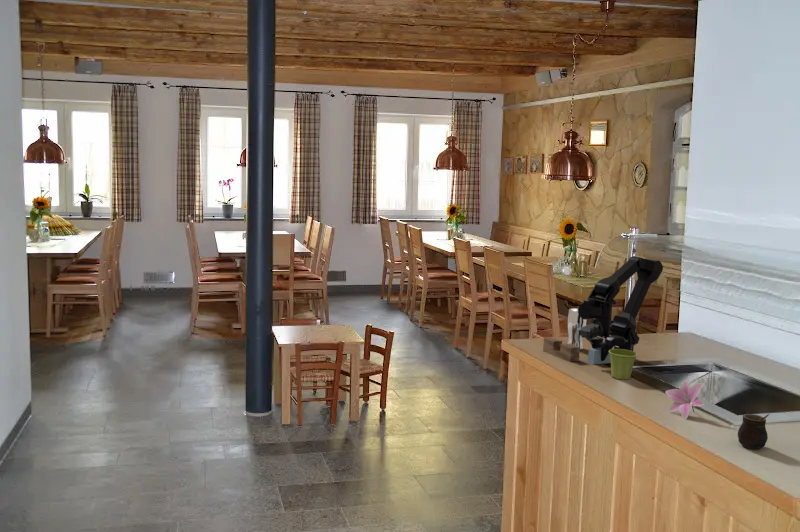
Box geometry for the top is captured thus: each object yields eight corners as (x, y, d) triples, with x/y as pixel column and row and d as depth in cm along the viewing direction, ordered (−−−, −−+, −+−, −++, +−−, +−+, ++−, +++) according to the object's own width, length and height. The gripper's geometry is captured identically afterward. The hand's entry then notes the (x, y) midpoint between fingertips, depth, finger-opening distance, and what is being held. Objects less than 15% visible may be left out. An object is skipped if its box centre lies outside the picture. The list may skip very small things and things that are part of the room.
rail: (551, 350, 305) (552, 337, 304) (578, 360, 291) (579, 347, 290) (542, 350, 303) (543, 337, 302) (569, 361, 289) (571, 348, 288)
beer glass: (587, 349, 308) (590, 311, 306) (572, 350, 305) (575, 311, 303) (577, 345, 314) (580, 307, 312) (562, 346, 311) (565, 308, 309)
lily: (662, 408, 243) (656, 384, 238) (700, 395, 242) (695, 370, 238) (679, 433, 232) (673, 408, 228) (718, 420, 231) (713, 394, 227)
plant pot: (635, 375, 274) (637, 350, 273) (635, 382, 265) (637, 357, 264) (606, 372, 277) (609, 347, 276) (606, 379, 268) (608, 353, 267)
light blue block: (605, 360, 293) (606, 347, 292) (610, 362, 290) (611, 349, 289) (587, 362, 289) (588, 348, 288) (593, 364, 287) (594, 350, 286)
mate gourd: (744, 439, 215) (748, 403, 214) (772, 448, 210) (777, 411, 208) (731, 445, 211) (735, 408, 209) (759, 454, 205) (764, 416, 204)
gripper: (568, 312, 292) (565, 354, 294) (603, 323, 275) (599, 368, 278) (592, 311, 297) (589, 352, 299) (628, 322, 280) (624, 365, 283)
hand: (599, 359), depth 290 cm, fingers closed on light blue block, 3 cm apart
